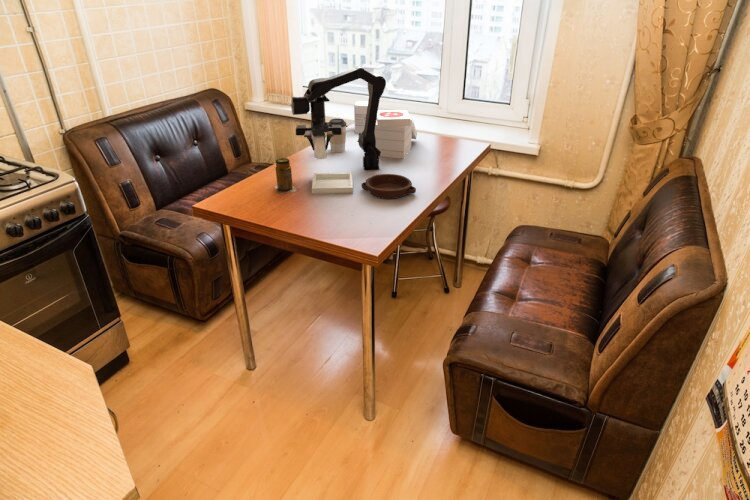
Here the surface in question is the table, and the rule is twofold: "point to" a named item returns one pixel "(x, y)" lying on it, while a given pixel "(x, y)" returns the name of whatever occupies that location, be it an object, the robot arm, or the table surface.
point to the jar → (319, 147)
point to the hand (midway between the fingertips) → (320, 150)
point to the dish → (388, 186)
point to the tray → (332, 183)
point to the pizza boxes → (394, 133)
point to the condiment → (284, 176)
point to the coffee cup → (338, 136)
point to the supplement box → (360, 115)
